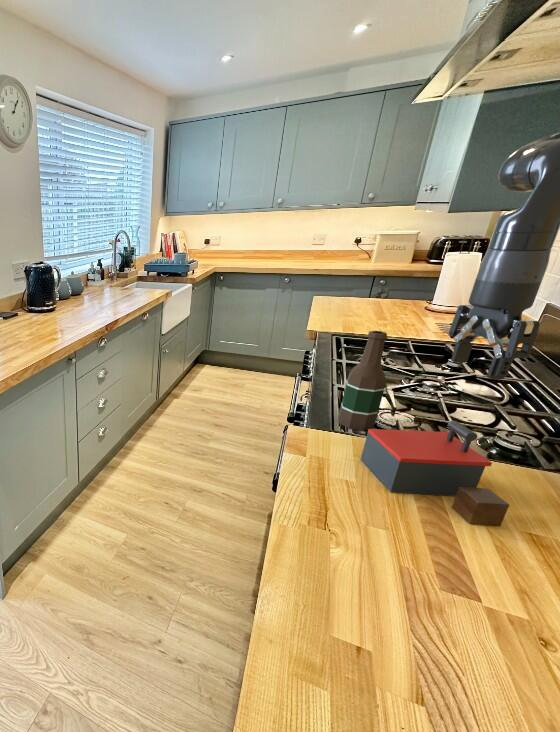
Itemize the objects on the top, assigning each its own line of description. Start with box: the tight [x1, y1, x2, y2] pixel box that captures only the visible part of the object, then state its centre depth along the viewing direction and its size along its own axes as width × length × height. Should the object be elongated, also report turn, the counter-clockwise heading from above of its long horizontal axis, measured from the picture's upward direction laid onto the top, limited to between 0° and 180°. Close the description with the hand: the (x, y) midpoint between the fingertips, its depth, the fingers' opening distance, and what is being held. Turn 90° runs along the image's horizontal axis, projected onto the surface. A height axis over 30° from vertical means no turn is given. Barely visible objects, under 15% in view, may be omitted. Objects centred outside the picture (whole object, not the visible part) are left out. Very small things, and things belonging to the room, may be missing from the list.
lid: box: [367, 420, 493, 467], centre depth 80 cm, size 14×12×5 cm
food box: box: [360, 432, 486, 497], centre depth 83 cm, size 14×12×7 cm
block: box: [451, 487, 510, 527], centre depth 72 cm, size 4×4×4 cm
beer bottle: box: [338, 330, 388, 432], centre depth 101 cm, size 8×8×24 cm
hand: (475, 369), depth 74 cm, fingers open, 8 cm apart
